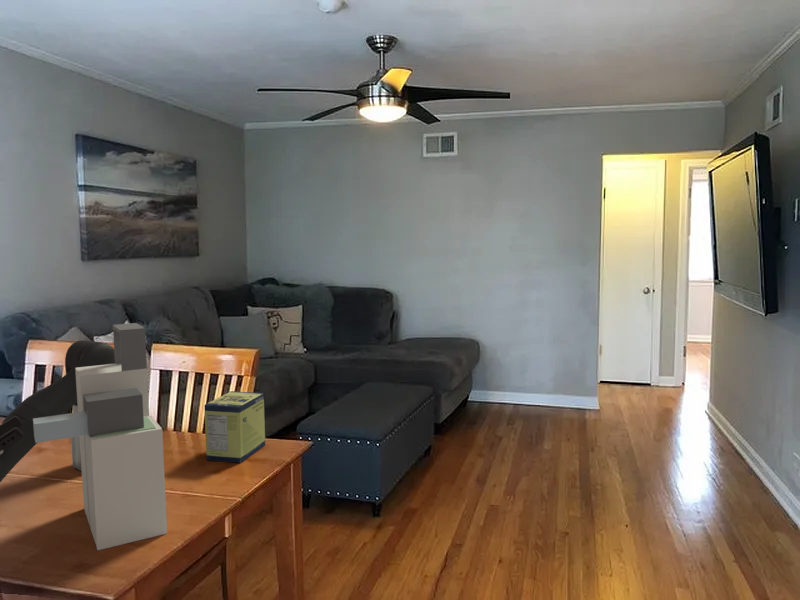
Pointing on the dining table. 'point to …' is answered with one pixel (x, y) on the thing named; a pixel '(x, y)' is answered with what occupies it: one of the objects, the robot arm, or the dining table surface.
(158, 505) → the grey stepped fixture
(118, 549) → the dining table surface
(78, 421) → the plug
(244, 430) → the protein box
